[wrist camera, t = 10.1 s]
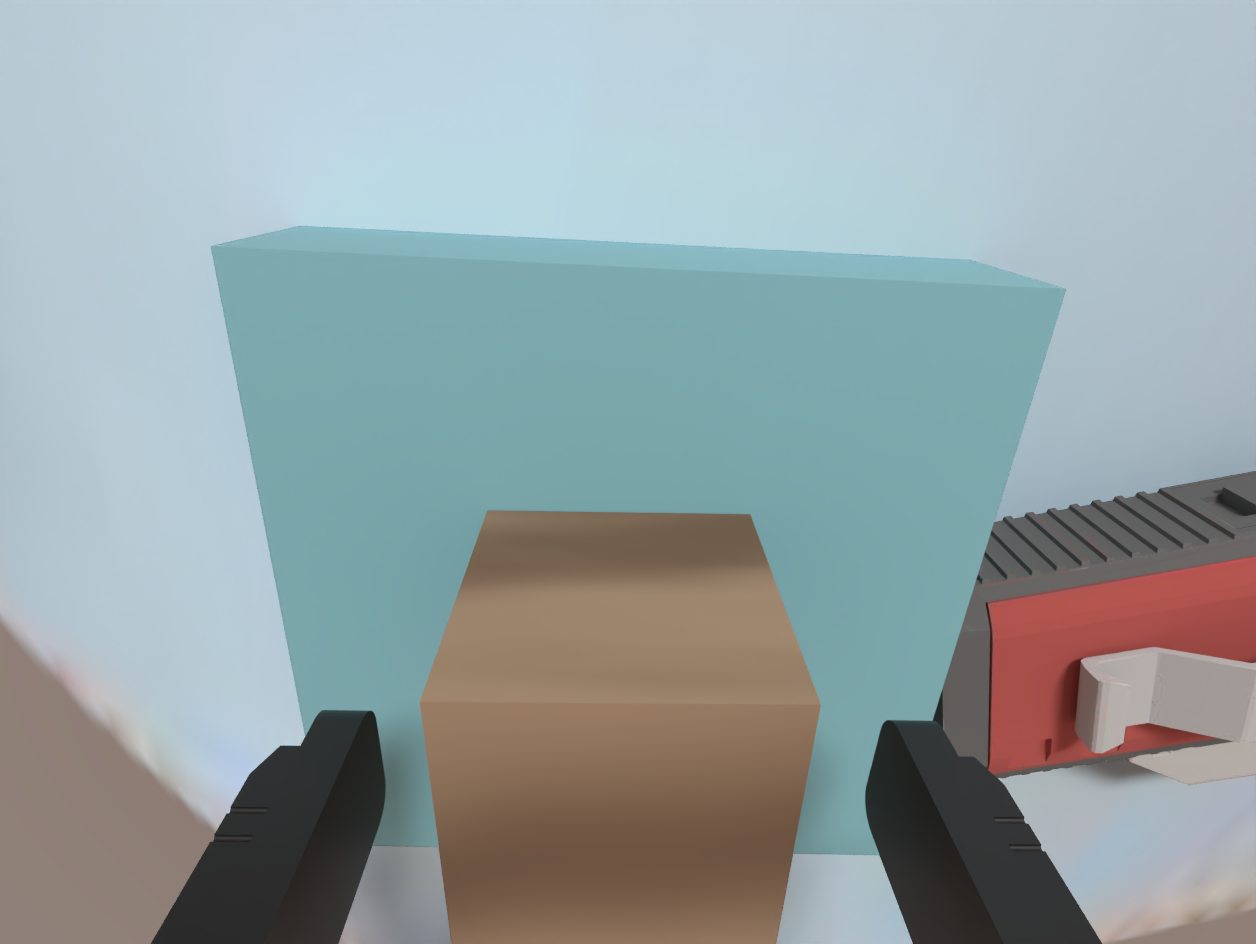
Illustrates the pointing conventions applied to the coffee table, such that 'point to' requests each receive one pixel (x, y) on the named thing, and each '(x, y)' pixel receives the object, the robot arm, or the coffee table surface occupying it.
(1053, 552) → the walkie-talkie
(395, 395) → the teal base block
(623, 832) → the walnut block
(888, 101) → the coffee table surface
